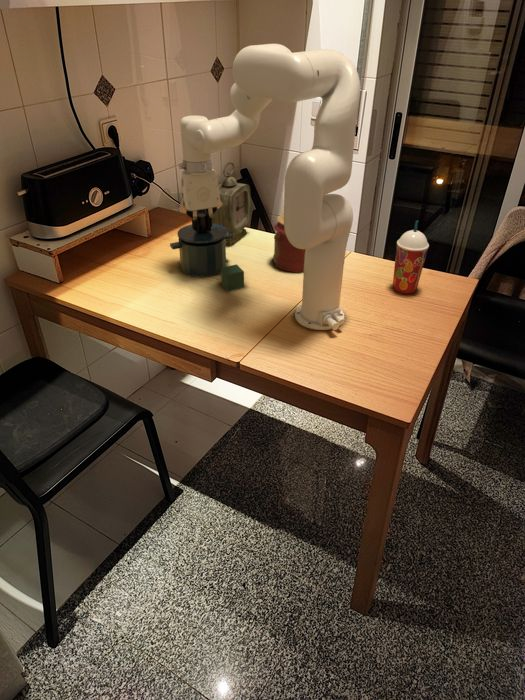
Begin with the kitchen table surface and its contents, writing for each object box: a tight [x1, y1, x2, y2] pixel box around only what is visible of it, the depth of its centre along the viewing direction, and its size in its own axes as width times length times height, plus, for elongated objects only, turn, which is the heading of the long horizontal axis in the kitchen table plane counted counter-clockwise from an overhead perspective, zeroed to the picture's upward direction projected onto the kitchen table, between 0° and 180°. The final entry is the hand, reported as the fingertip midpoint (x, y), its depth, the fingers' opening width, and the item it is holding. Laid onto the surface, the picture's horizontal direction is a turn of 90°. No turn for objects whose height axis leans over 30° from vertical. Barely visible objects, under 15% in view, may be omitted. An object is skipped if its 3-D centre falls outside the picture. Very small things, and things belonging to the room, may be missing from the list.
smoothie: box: [392, 220, 430, 294], centre depth 141 cm, size 8×8×20 cm
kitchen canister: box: [273, 212, 306, 273], centre depth 155 cm, size 13×13×18 cm
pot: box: [169, 233, 234, 278], centre depth 155 cm, size 14×19×10 cm
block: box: [220, 264, 245, 292], centre depth 146 cm, size 5×5×5 cm
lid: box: [177, 213, 228, 243], centre depth 150 cm, size 15×15×6 cm
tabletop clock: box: [212, 161, 252, 246], centre depth 169 cm, size 14×9×25 cm, turn 155°
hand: (202, 230), depth 150 cm, fingers closed on lid, 2 cm apart
